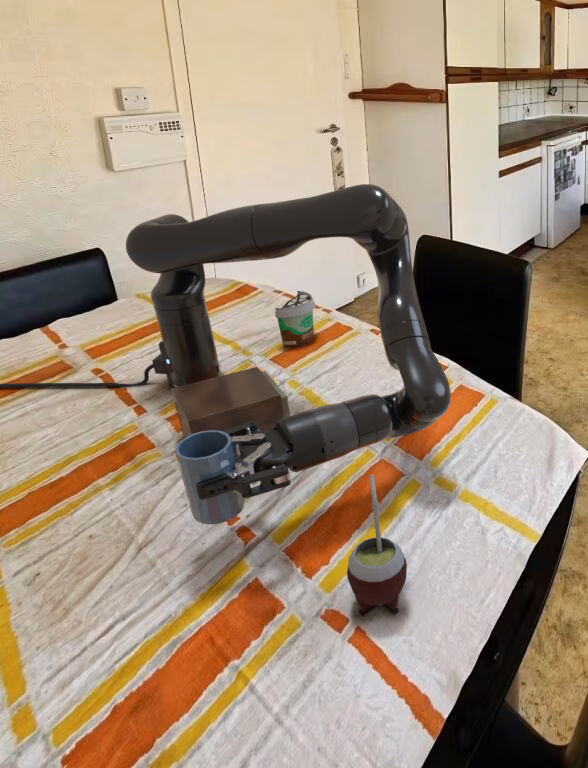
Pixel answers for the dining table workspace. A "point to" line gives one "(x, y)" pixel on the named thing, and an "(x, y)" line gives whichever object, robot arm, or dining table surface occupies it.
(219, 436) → the cup
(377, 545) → the mate gourd
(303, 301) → the food container
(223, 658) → the dining table surface
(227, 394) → the cabinet
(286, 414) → the drawer
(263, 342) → the dining table surface
